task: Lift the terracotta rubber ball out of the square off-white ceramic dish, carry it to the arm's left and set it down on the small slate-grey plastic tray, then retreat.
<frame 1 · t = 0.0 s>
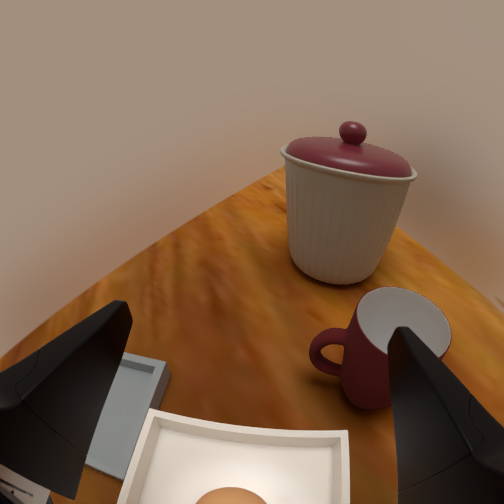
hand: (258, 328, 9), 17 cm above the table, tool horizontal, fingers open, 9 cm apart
mug: (352, 392, 23), on the table
canister: (331, 264, 42), on the table
tray: (95, 408, 20), on the table
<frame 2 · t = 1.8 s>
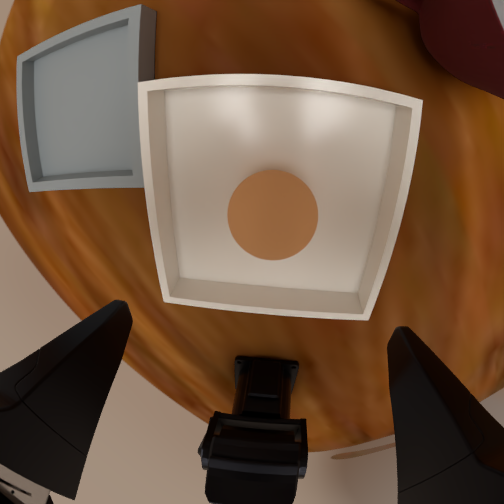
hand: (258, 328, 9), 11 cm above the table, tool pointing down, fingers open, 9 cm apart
mug: (428, 33, 11), on the table
ball: (272, 214, 15), point 3 cm above the table, touching dish
dish: (275, 195, 18), on the table
tray: (84, 104, 16), on the table
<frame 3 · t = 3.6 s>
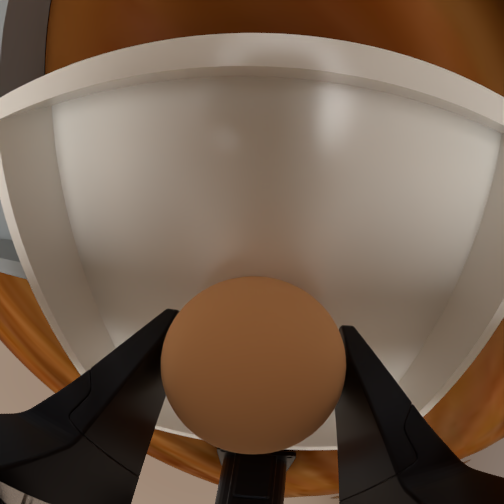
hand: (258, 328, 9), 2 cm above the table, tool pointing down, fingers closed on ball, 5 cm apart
ball: (253, 366, 7), point 3 cm above the table, touching dish, gripper
dish: (263, 295, 10), on the table
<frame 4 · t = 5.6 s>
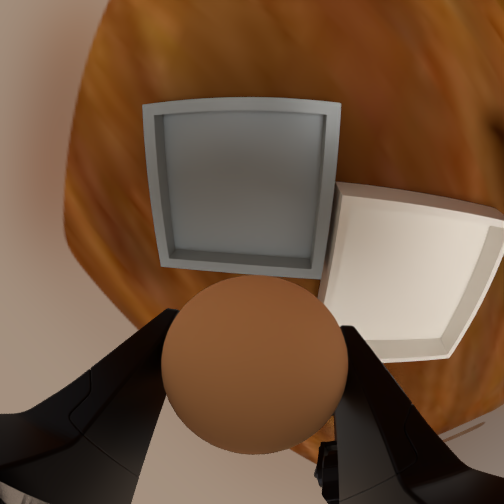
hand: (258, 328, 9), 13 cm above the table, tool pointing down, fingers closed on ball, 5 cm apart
ball: (254, 366, 7), point 14 cm above the table, touching gripper
dish: (406, 278, 21), on the table
tray: (241, 183, 19), on the table
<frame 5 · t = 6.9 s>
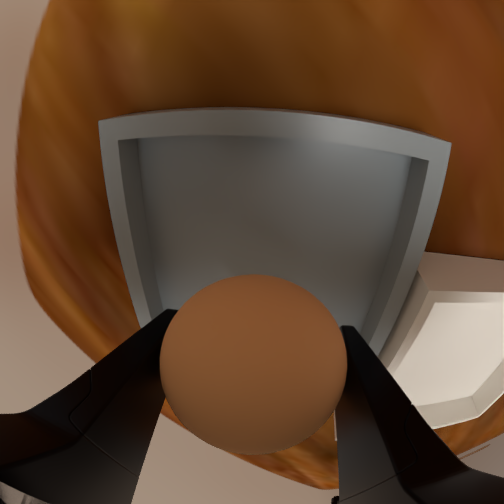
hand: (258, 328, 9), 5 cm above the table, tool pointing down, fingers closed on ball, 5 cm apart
ball: (253, 365, 7), point 6 cm above the table, touching gripper
dish: (455, 350, 15), on the table
tray: (267, 249, 12), on the table
when the fingers open (3 cm above the table, at t = 7.9 s): ball drops 1 cm, resting on tray.
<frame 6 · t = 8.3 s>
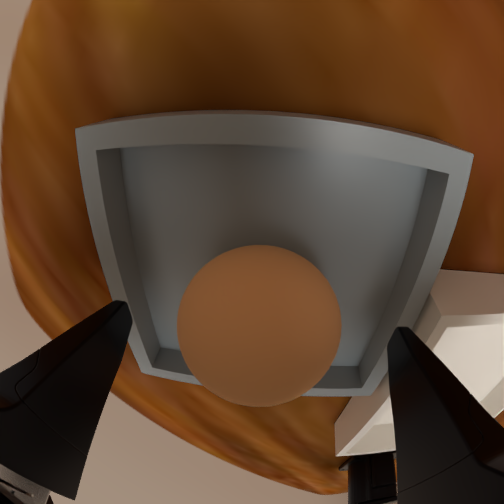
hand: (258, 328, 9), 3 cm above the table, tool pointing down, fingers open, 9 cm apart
ball: (259, 326, 8), point 3 cm above the table, touching tray
dish: (461, 365, 14), on the table
tray: (266, 267, 11), on the table
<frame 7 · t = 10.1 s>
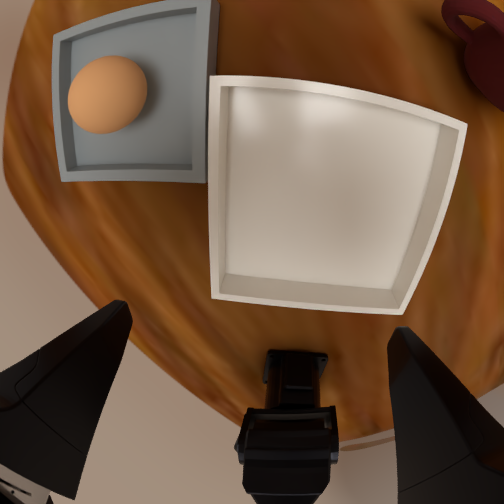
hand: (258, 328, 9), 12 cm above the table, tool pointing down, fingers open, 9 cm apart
mug: (469, 58, 11), on the table
ball: (107, 94, 13), point 3 cm above the table, touching tray
dish: (328, 197, 19), on the table
tray: (132, 92, 16), on the table
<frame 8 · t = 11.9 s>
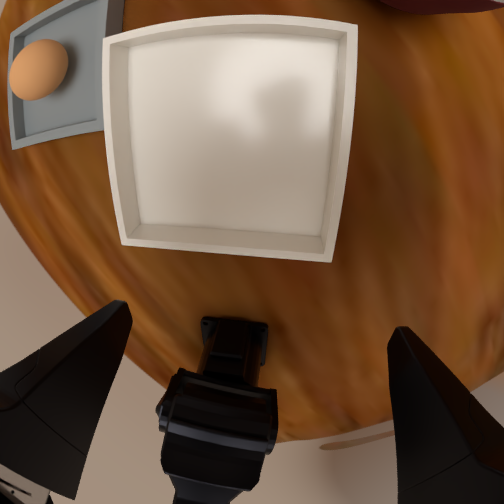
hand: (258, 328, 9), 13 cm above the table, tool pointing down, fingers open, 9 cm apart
ball: (38, 69, 12), point 3 cm above the table, touching tray
dish: (226, 132, 18), on the table
tray: (64, 68, 15), on the table
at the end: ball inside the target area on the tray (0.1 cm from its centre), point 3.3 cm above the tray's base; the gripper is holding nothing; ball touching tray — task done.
